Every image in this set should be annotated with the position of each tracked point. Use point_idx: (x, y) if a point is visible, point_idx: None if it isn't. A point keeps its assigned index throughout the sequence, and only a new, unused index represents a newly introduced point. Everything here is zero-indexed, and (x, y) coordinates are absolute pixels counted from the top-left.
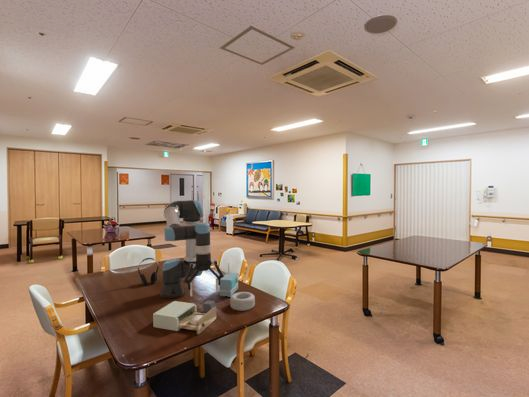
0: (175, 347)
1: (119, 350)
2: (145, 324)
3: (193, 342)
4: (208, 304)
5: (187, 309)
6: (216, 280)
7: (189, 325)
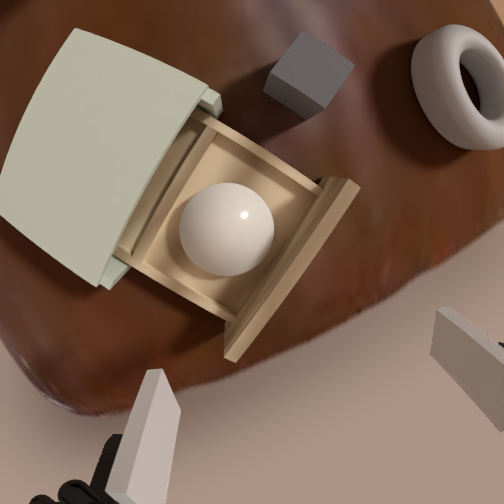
0: None
1: (4, 335)
2: None
3: (214, 371)
4: (309, 98)
5: (153, 171)
6: (502, 407)
7: (184, 289)
